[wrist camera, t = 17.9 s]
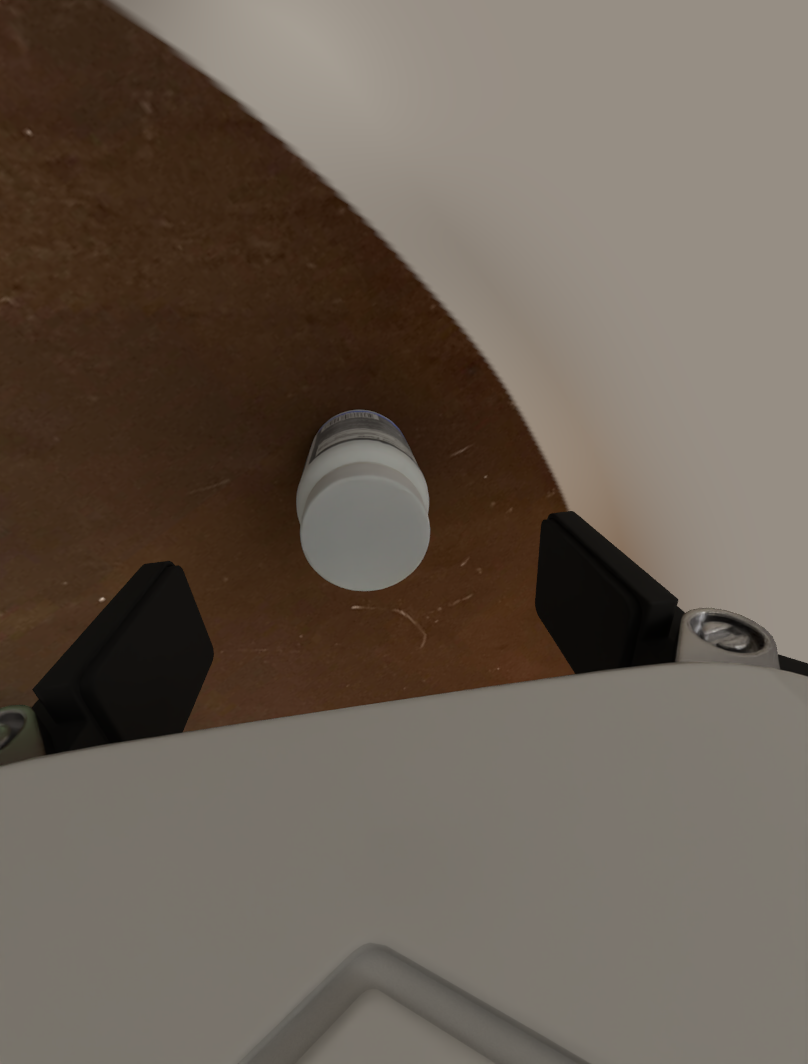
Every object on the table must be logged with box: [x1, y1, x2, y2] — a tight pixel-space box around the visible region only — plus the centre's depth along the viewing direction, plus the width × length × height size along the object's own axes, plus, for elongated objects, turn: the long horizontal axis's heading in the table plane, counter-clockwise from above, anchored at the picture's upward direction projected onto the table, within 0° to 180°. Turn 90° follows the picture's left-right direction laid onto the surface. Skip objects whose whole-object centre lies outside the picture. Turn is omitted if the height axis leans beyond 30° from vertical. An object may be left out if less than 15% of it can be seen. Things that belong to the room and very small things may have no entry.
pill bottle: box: [296, 410, 430, 591], centre depth 16 cm, size 5×5×8 cm
